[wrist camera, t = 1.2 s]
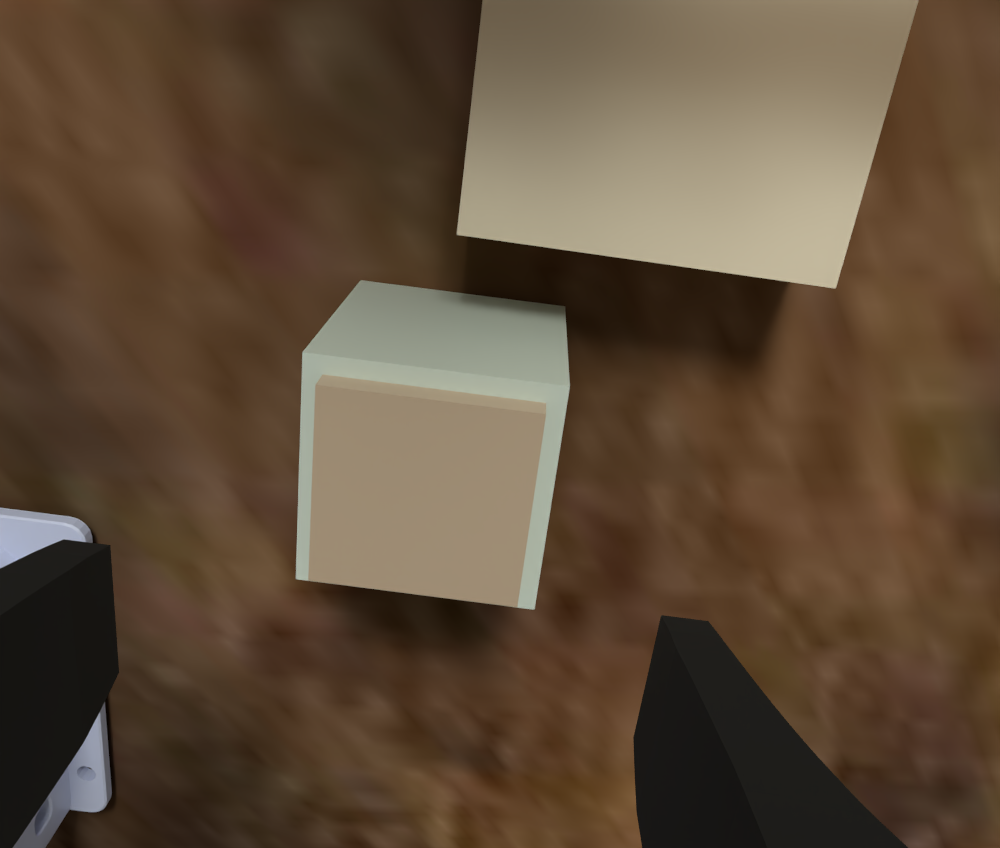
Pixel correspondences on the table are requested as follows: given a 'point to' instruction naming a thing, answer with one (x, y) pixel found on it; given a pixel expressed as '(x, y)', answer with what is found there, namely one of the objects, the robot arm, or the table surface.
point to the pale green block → (431, 443)
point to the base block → (681, 128)
